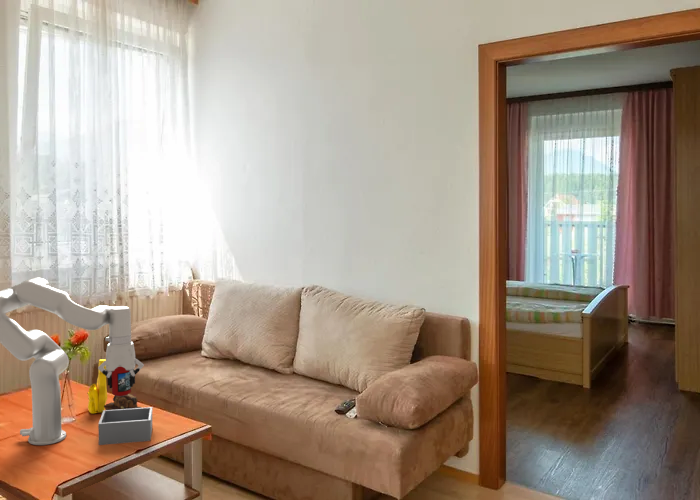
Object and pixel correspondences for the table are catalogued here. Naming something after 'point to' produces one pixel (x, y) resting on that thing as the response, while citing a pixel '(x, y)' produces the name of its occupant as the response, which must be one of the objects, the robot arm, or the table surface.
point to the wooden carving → (122, 403)
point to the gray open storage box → (125, 426)
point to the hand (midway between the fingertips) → (121, 386)
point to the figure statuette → (98, 393)
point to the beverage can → (121, 382)
